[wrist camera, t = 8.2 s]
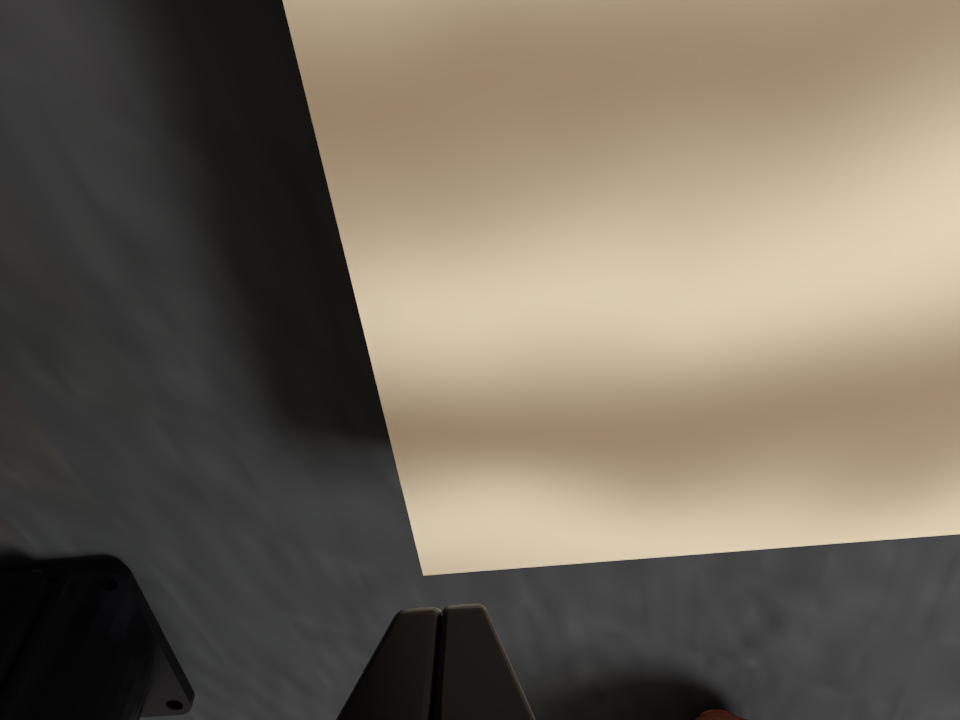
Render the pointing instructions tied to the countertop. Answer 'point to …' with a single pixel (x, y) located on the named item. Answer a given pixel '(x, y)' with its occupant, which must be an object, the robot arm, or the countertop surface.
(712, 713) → the onion
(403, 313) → the soap dish
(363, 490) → the countertop surface
